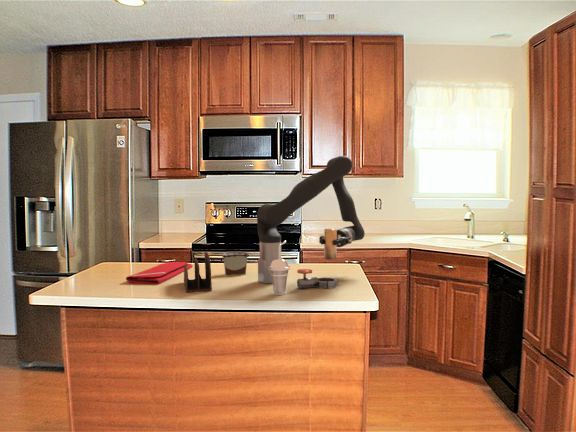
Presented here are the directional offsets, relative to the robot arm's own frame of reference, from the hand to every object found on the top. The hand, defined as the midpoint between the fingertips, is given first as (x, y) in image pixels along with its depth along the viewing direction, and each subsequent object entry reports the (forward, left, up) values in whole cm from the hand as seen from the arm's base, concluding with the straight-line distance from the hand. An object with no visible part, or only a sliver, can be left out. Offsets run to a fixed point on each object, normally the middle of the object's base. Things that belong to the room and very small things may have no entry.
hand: (328, 242), depth 201 cm
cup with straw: (-22, 0, -19) cm, 29 cm away
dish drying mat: (-54, +58, -19) cm, 82 cm away
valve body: (-3, +4, -19) cm, 19 cm away
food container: (-24, +45, -19) cm, 54 cm away
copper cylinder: (+2, +2, -7) cm, 7 cm away
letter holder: (-47, +26, -19) cm, 57 cm away
